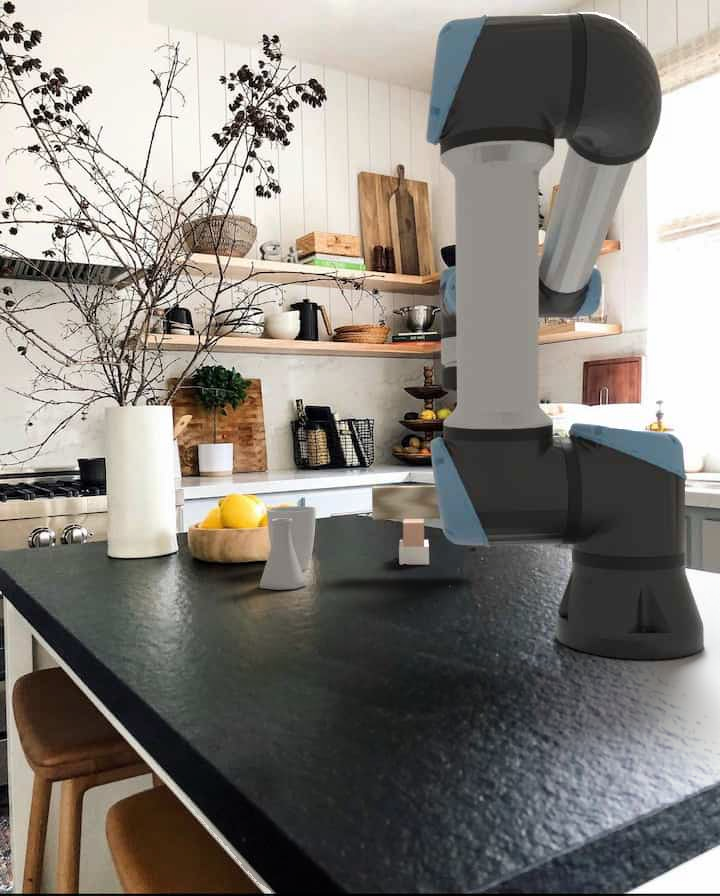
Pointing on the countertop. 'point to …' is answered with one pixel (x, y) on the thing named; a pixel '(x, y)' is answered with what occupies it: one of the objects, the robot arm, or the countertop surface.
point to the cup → (297, 530)
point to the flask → (282, 560)
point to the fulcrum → (413, 543)
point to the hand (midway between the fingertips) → (468, 513)
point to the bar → (405, 502)
